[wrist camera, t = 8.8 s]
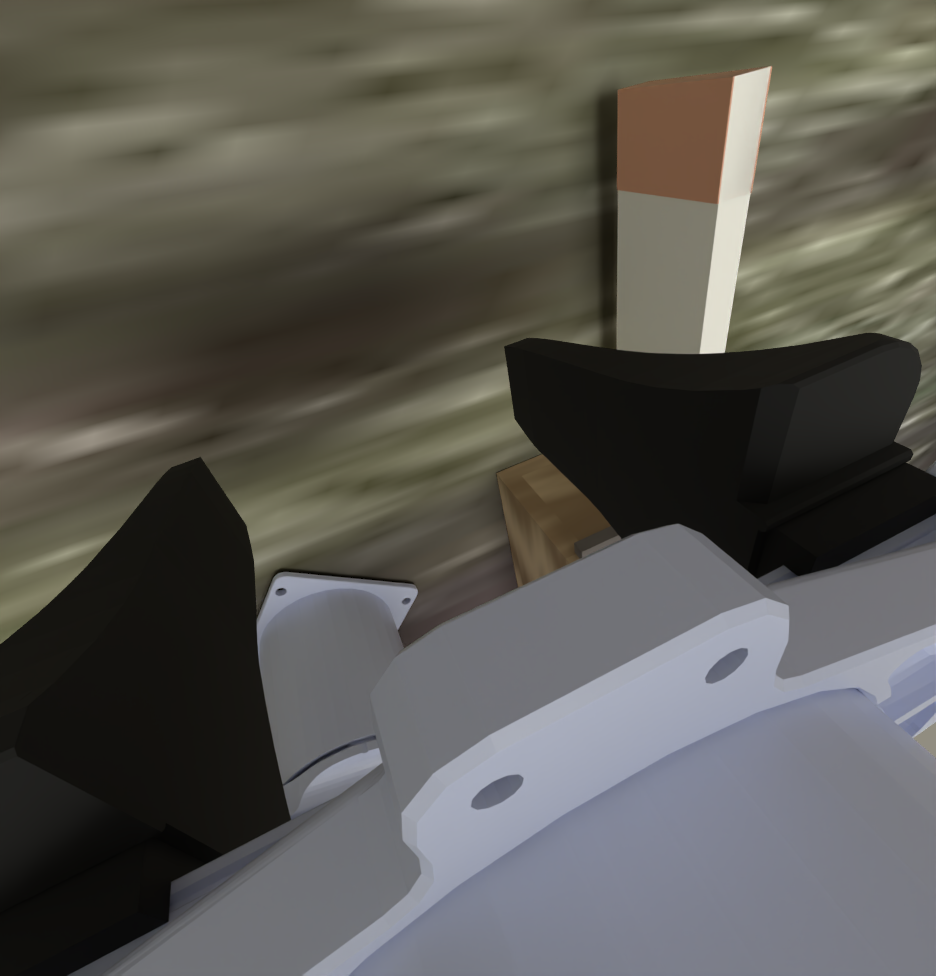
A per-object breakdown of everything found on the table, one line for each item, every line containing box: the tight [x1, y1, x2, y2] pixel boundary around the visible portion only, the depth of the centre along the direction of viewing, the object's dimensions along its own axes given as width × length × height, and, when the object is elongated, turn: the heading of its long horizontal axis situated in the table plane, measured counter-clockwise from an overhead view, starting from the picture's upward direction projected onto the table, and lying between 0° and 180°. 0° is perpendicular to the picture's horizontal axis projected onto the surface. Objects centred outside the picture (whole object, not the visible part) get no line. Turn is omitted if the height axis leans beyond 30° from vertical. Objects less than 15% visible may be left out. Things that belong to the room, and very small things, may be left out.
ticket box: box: [496, 454, 621, 588], centre depth 29 cm, size 15×14×8 cm
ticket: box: [617, 66, 772, 354], centre depth 21 cm, size 19×1×5 cm, turn 11°
